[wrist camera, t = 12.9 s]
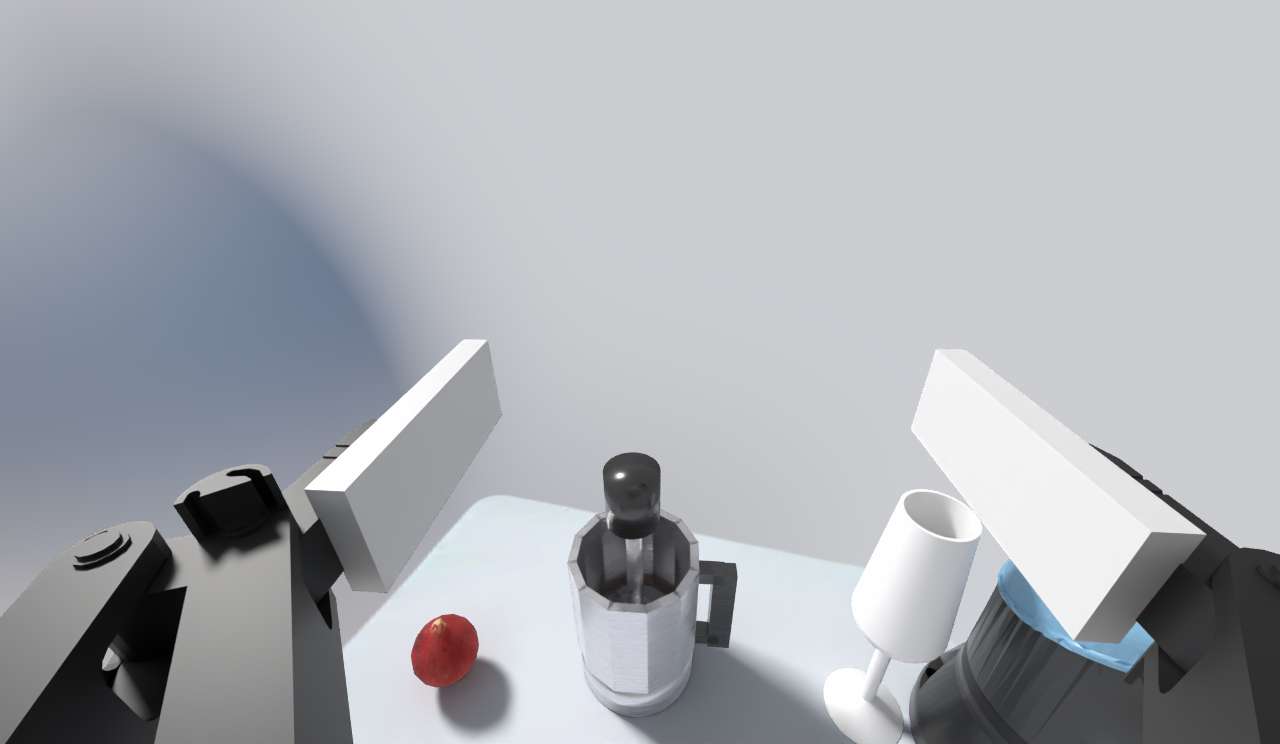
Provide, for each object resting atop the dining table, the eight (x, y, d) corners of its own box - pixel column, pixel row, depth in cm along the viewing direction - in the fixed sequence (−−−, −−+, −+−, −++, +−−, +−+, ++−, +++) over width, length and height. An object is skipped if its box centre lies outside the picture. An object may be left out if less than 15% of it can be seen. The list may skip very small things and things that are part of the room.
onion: (414, 709, 42) (390, 658, 38) (431, 646, 47) (411, 597, 43) (478, 699, 42) (461, 649, 39) (488, 639, 47) (474, 589, 44)
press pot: (721, 610, 50) (731, 509, 43) (730, 725, 40) (746, 620, 33) (593, 601, 51) (583, 502, 44) (572, 711, 41) (555, 607, 34)
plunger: (678, 592, 47) (684, 441, 38) (677, 674, 40) (684, 511, 31) (602, 587, 47) (589, 437, 38) (588, 666, 40) (568, 505, 31)
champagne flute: (885, 770, 37) (985, 575, 26) (810, 704, 41) (867, 513, 30) (915, 707, 41) (1012, 514, 30) (843, 653, 45) (904, 467, 34)
